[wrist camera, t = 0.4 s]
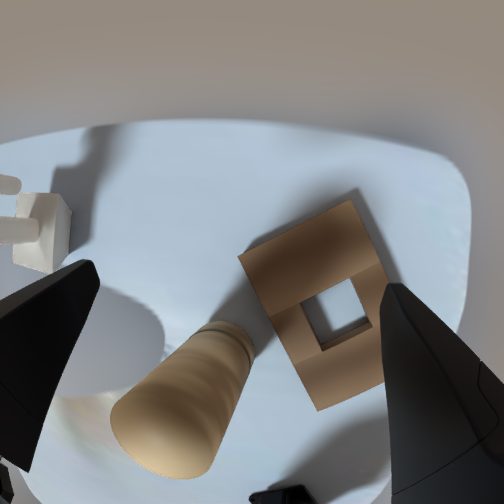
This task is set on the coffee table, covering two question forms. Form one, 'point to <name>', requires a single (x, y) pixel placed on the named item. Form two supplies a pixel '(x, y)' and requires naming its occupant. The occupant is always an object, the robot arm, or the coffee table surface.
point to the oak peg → (185, 403)
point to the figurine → (36, 227)
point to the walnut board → (313, 282)
